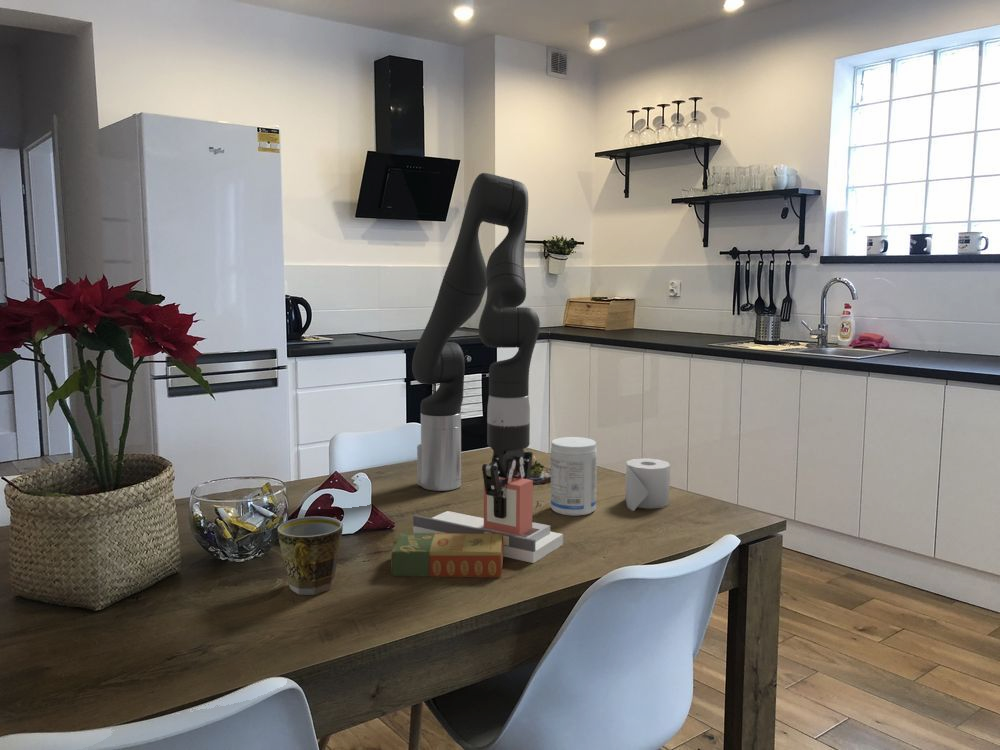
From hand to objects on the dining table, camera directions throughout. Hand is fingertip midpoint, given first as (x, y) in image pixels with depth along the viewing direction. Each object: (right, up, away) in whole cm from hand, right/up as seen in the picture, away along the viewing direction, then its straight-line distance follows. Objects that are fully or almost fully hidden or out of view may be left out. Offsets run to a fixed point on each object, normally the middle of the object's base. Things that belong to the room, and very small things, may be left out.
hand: (507, 513), depth 145 cm
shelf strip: (-4, -6, +5) cm, 9 cm away
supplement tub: (+14, -4, +24) cm, 28 cm away
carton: (-10, -8, -8) cm, 15 cm away
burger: (+6, 0, +50) cm, 50 cm away
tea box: (0, -3, 0) cm, 3 cm away
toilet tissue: (+30, -3, +29) cm, 41 cm away
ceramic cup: (-31, -9, -18) cm, 37 cm away
